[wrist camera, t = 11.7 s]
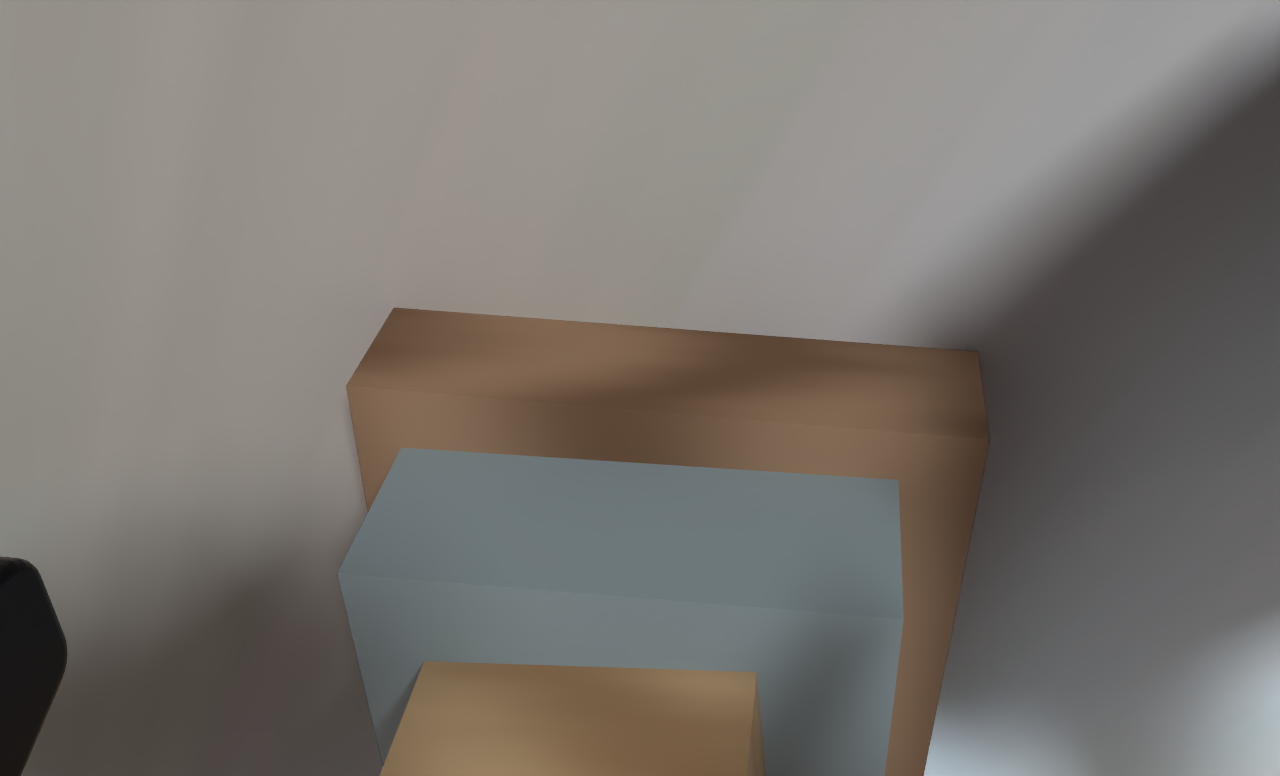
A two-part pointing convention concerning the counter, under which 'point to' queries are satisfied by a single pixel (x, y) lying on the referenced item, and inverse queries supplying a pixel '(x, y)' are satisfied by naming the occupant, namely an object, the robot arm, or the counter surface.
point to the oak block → (578, 722)
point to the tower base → (706, 432)
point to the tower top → (640, 586)
